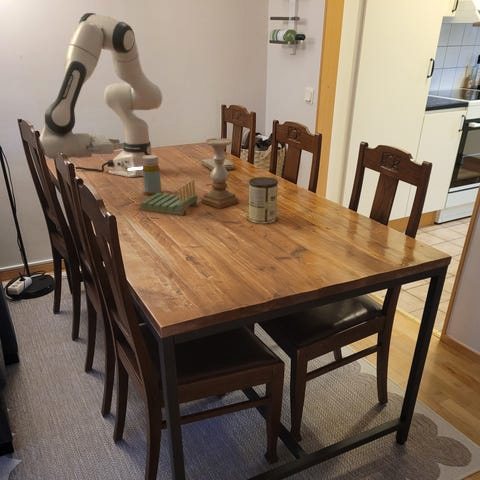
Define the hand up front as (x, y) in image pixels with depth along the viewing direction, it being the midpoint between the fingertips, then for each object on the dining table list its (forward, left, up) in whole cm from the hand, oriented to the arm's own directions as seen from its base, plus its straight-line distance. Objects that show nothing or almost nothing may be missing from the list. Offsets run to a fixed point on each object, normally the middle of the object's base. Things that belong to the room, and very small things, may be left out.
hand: (121, 143), depth 189 cm
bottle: (+8, +7, -21) cm, 24 cm away
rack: (+23, -7, -21) cm, 32 cm away
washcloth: (+16, +59, -21) cm, 65 cm away
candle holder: (+39, +6, -21) cm, 45 cm away
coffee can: (+61, -6, -21) cm, 65 cm away
